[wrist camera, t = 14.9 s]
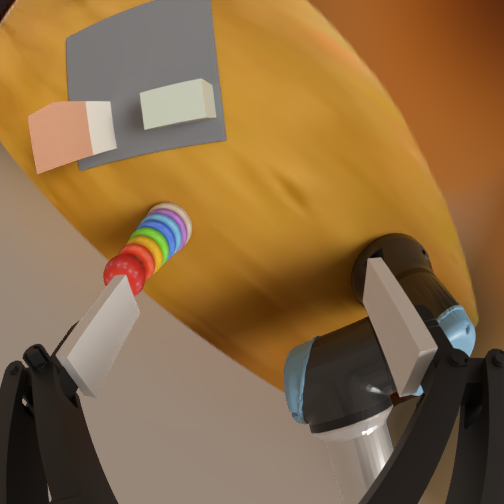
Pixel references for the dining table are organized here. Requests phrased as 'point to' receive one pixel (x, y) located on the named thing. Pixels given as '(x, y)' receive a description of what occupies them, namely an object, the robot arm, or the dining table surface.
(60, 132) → the terracotta brick
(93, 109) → the cream brick
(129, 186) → the dining table surface
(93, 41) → the charcoal mat
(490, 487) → the robot arm
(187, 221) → the stacking toy
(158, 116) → the sage brick
